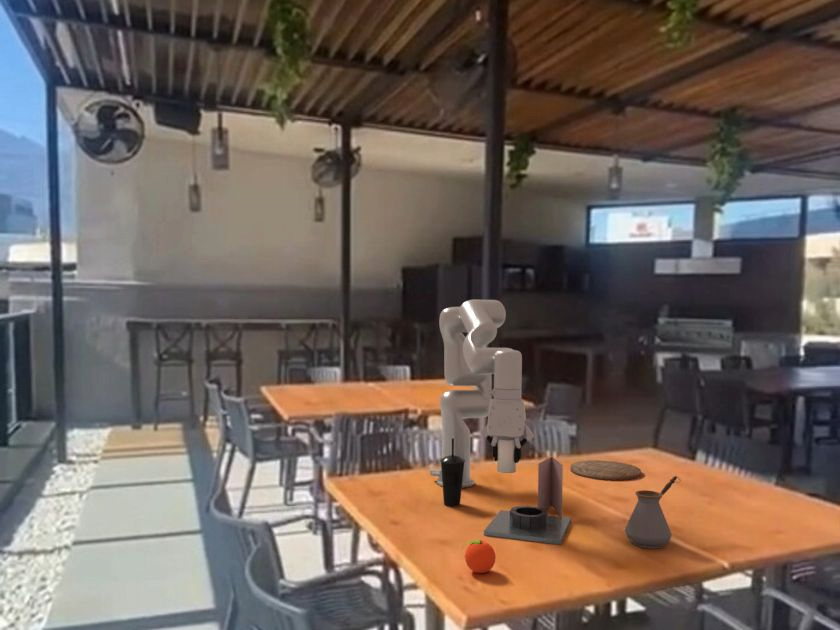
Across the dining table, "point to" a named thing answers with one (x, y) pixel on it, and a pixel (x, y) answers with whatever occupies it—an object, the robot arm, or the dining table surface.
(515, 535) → the square plate with ring
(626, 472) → the trivet
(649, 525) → the coffee pot
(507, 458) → the round-ended cylinder
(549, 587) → the dining table surface
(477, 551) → the clementine
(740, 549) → the dining table surface
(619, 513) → the dining table surface
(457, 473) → the drinking cup
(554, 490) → the greeting card
